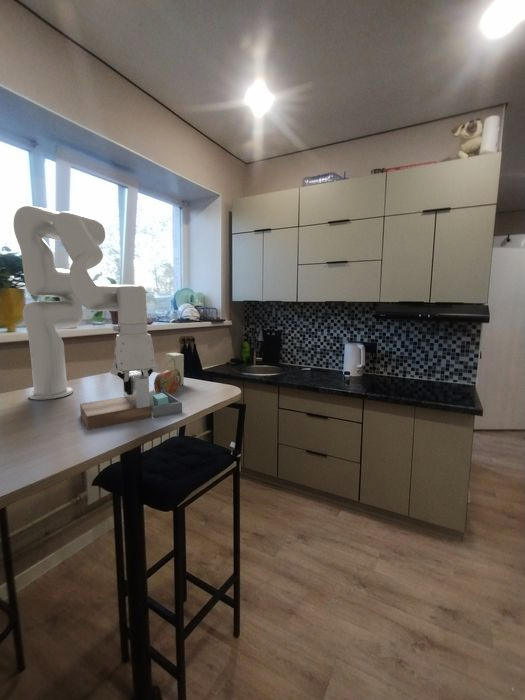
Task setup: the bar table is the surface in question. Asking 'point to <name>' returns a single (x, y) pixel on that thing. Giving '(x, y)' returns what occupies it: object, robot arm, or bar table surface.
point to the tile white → (151, 392)
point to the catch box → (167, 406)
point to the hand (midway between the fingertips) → (136, 392)
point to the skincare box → (176, 363)
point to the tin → (168, 381)
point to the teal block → (160, 399)
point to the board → (111, 412)
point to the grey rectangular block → (138, 389)
